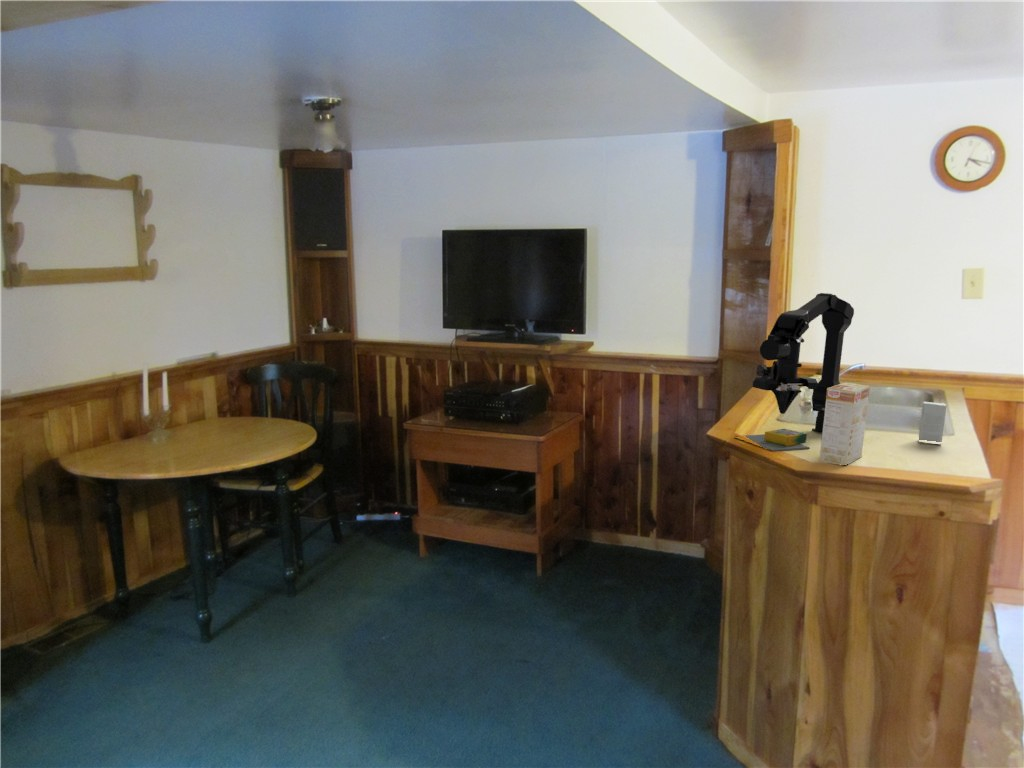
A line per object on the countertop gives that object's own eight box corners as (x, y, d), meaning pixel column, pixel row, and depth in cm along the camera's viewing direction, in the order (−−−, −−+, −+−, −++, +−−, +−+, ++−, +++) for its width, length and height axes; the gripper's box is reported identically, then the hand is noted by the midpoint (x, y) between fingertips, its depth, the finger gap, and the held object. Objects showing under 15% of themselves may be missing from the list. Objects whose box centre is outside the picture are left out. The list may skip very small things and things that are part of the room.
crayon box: (807, 432, 217) (784, 437, 210) (806, 443, 218) (783, 448, 210) (784, 427, 223) (760, 432, 216) (783, 437, 223) (759, 442, 216)
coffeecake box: (835, 451, 211) (843, 381, 208) (862, 457, 207) (871, 385, 204) (817, 461, 200) (826, 387, 197) (846, 466, 195) (855, 391, 192)
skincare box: (940, 443, 229) (945, 403, 227) (941, 445, 226) (947, 405, 224) (917, 440, 232) (922, 401, 230) (918, 442, 228) (923, 403, 226)
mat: (769, 435, 227) (769, 434, 227) (809, 449, 213) (809, 447, 213) (733, 437, 222) (733, 436, 222) (772, 451, 208) (772, 449, 208)
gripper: (793, 354, 226) (787, 406, 228) (742, 355, 219) (736, 408, 221) (821, 360, 216) (815, 414, 218) (769, 360, 208) (763, 416, 211)
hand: (782, 413), depth 217 cm, fingers closed
